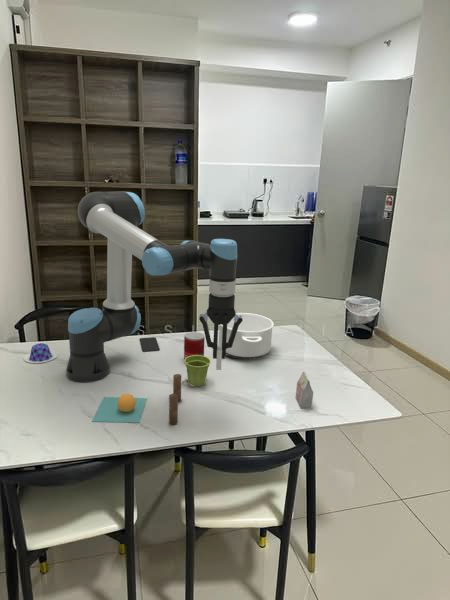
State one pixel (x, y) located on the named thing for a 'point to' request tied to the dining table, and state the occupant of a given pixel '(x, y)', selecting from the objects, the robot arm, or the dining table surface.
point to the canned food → (193, 344)
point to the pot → (249, 337)
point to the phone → (149, 344)
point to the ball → (126, 403)
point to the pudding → (40, 353)
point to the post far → (177, 386)
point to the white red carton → (304, 392)
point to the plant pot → (197, 369)
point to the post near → (173, 409)
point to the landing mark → (118, 411)
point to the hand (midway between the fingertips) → (218, 367)
